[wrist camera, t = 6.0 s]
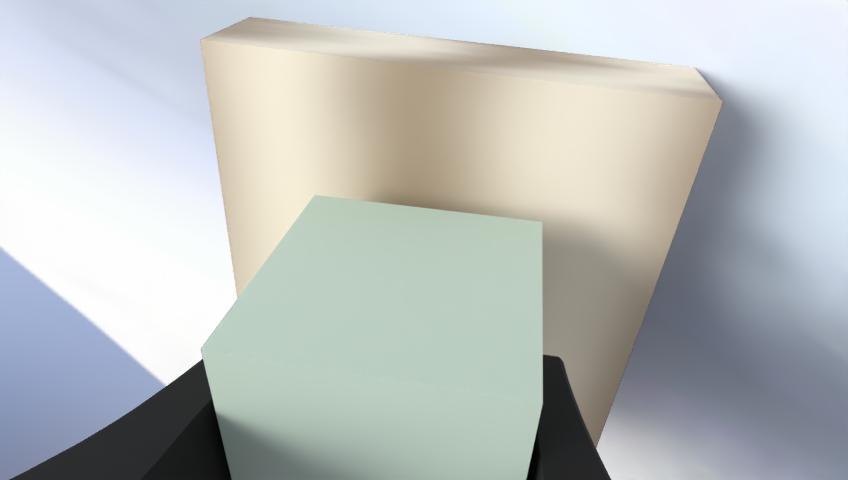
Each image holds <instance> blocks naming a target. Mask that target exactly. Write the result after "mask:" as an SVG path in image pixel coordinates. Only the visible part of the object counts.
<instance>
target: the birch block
mask: <svg viewBox="0 0 848 480" xmlns="http://www.w3.org/2000/svg"><path fill="white" fill-rule="evenodd" d="M200 42H201V49H202V56H203V63H204V70H205V77H206V84H207V91H208V98H209V105H210V112H211V119H212V126H213V133H214V140H215V146H216V153H217V160H218V167H219V174H220V181H221V188H222V195H223V202H224V209H225V216H226V223H227V230H228V237H229V243H230V250H231V257H232V264H233V271H234V278H235V285H236V292H237V299H238V298H239V296H240V295H241V294H242V292H243V291H244V290H245V288H246V287H247V286H248V284H249V283H250V281H251V280H252V279H253V277H254V276H255V275H256V273H257V272H258V271H259V269H260V268H261V267H262V265H263V264H264V263H265V261H266V260H267V258H268V257H269V256H270V254H271V253H272V252H273V250H274V249H275V248H276V246H277V245H278V244H279V242H280V241H281V240H282V238H283V237H284V236H285V234H286V233H287V231H288V230H289V229H290V227H291V226H292V225H293V223H294V222H295V221H296V219H297V218H298V217H299V215H300V214H301V213H302V211H303V210H304V208H305V207H306V206H307V204H308V203H309V202H310V200H311V199H312V198H313V196H314V195H319V196H327V197H336V198H344V199H353V200H361V201H370V202H378V203H387V204H395V205H404V206H412V207H421V208H429V209H438V210H446V211H455V212H463V213H472V214H480V215H489V216H497V217H506V218H514V219H523V220H531V221H540V222H542V306H543V354H544V355H551V356H557V357H560V358H561V360H562V361H563V362H564V366H565V370H566V373H567V376H568V380H569V383H570V386H571V389H572V392H573V394H574V397H575V400H576V402H577V405H578V408H579V410H580V413H581V415H582V418H583V420H584V423H585V425H586V427H587V430H588V432H589V434H590V436H591V439H592V441H593V443H594V445H595V447H597V444H598V442H599V439H600V436H601V433H602V431H603V428H604V425H605V422H606V420H607V417H608V414H609V412H610V409H611V406H612V403H613V401H614V398H615V395H616V392H617V390H618V387H619V384H620V382H621V379H622V376H623V373H624V371H625V368H626V365H627V362H628V360H629V357H630V354H631V352H632V349H633V346H634V343H635V341H636V338H637V335H638V332H639V330H640V327H641V324H642V322H643V319H644V316H645V313H646V311H647V308H648V305H649V302H650V300H651V297H652V294H653V292H654V289H655V286H656V283H657V281H658V278H659V275H660V272H661V270H662V267H663V264H664V262H665V259H666V256H667V253H668V251H669V248H670V245H671V242H672V240H673V237H674V234H675V232H676V229H677V226H678V223H679V221H680V218H681V215H682V212H683V210H684V207H685V204H686V202H687V199H688V196H689V193H690V191H691V188H692V185H693V182H694V180H695V177H696V174H697V172H698V169H699V166H700V163H701V161H702V158H703V155H704V152H705V150H706V147H707V144H708V142H709V139H710V136H711V133H712V131H713V128H714V125H715V122H716V120H717V117H718V114H719V112H720V109H721V106H722V103H723V101H722V100H721V99H720V97H719V96H718V95H717V94H716V93H715V91H714V90H713V89H712V88H711V87H710V85H709V84H708V83H707V82H706V81H705V80H704V78H703V77H702V76H701V75H700V74H699V72H698V71H697V70H696V69H695V68H694V67H689V66H680V65H672V64H663V63H654V62H645V61H636V60H627V59H618V58H609V57H600V56H592V55H583V54H574V53H565V52H556V51H547V50H538V49H529V48H520V47H511V46H503V45H494V44H485V43H476V42H467V41H458V40H449V39H440V38H431V37H423V36H414V35H405V34H396V33H387V32H378V31H369V30H360V29H351V28H343V27H334V26H325V25H316V24H307V23H298V22H289V21H280V20H271V19H262V18H254V17H249V18H247V19H245V20H242V21H240V22H238V23H236V24H234V25H231V26H229V27H227V28H225V29H223V30H220V31H218V32H216V33H214V34H212V35H209V36H207V37H205V38H203V39H200Z"/></svg>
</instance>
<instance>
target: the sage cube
mask: <svg viewBox="0 0 848 480" xmlns="http://www.w3.org/2000/svg"><path fill="white" fill-rule="evenodd" d="M201 353H202V357H203V361H204V365H205V369H206V374H207V378H208V382H209V386H210V390H211V395H212V399H213V403H214V407H215V411H216V416H217V420H218V424H219V428H220V432H221V437H222V441H223V445H224V449H225V453H226V458H227V462H228V466H229V470H230V475H231V479H232V480H526V479H527V474H528V469H529V465H530V460H531V455H532V451H533V446H534V442H535V437H536V432H537V428H538V423H539V418H540V414H541V409H542V405H543V306H542V222H540V221H531V220H523V219H514V218H506V217H497V216H489V215H480V214H472V213H463V212H455V211H446V210H438V209H429V208H421V207H412V206H404V205H395V204H387V203H378V202H370V201H361V200H353V199H344V198H336V197H327V196H319V195H314V196H313V198H312V199H311V200H310V202H309V203H308V204H307V206H306V207H305V208H304V210H303V211H302V213H301V214H300V215H299V217H298V218H297V219H296V221H295V222H294V223H293V225H292V226H291V227H290V229H289V230H288V231H287V233H286V234H285V236H284V237H283V238H282V240H281V241H280V242H279V244H278V245H277V246H276V248H275V249H274V250H273V252H272V253H271V254H270V256H269V257H268V258H267V260H266V261H265V263H264V264H263V265H262V267H261V268H260V269H259V271H258V272H257V273H256V275H255V276H254V277H253V279H252V280H251V281H250V283H249V284H248V286H247V287H246V288H245V290H244V291H243V292H242V294H241V295H240V296H239V298H238V299H237V300H236V302H235V303H234V304H233V306H232V307H231V309H230V310H229V311H228V313H227V314H226V315H225V317H224V318H223V319H222V321H221V322H220V323H219V325H218V326H217V327H216V329H215V330H214V331H213V333H212V334H211V336H210V337H209V338H208V340H207V341H206V342H205V344H204V345H203V346H202V348H201Z"/></svg>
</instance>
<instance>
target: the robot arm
mask: <svg viewBox="0 0 848 480" xmlns="http://www.w3.org/2000/svg"><path fill="white" fill-rule="evenodd" d="M10 480H232V479H231V475H230V470H229V466H228V462H227V458H226V453H225V449H224V445H223V441H222V437H221V432H220V428H219V424H218V420H217V416H216V411H215V407H214V403H213V399H212V395H211V390H210V386H209V382H208V378H207V374H206V369H205V365H204V361H203V359H202V360H201V361H199V362H198V363H197V364H195V365H194V366H193V367H192V368H190V369H189V370H188V371H186V372H185V373H184V374H182V375H181V376H180V377H179V378H177V379H176V380H175V381H173V382H172V383H170V384H169V385H168V386H166V387H165V388H163V389H162V390H161V391H159V392H158V393H156V394H155V395H153V396H152V397H151V398H149V399H148V400H146V401H145V402H144V403H142V404H141V405H139V406H138V407H137V408H135V409H133V410H132V411H130V412H129V413H127V414H126V415H124V416H123V417H121V418H120V419H118V420H116V421H115V422H113V423H112V424H110V425H108V426H107V427H105V428H103V429H102V430H100V431H98V432H97V433H95V434H93V435H92V436H90V437H88V438H87V439H85V440H83V441H82V442H80V443H78V444H77V445H75V446H73V447H71V448H69V449H67V450H65V451H63V452H61V453H60V454H58V455H56V456H54V457H52V458H50V459H48V460H46V461H45V462H43V463H41V464H39V465H37V466H35V467H34V468H31V469H30V470H28V471H26V472H24V473H22V474H20V475H18V476H16V477H14V478H12V479H10ZM526 480H611V478H610V477H609V475H608V473H607V471H606V469H605V467H604V464H603V462H602V460H601V458H600V456H599V454H598V452H597V450H596V447H595V445H594V443H593V441H592V439H591V436H590V434H589V432H588V430H587V427H586V425H585V423H584V420H583V418H582V415H581V413H580V410H579V408H578V405H577V402H576V400H575V397H574V394H573V392H572V389H571V386H570V383H569V380H568V376H567V373H566V370H565V366H564V362H563V361H562V360H561V358H560V357H557V356H551V355H544V354H543V405H542V409H541V414H540V418H539V423H538V428H537V432H536V437H535V442H534V446H533V451H532V455H531V460H530V465H529V469H528V474H527V479H526Z"/></svg>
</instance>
